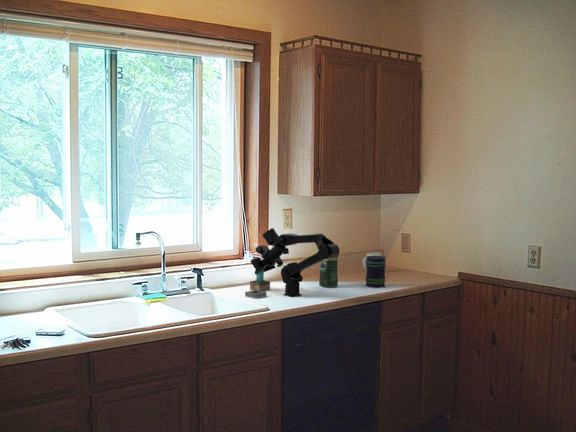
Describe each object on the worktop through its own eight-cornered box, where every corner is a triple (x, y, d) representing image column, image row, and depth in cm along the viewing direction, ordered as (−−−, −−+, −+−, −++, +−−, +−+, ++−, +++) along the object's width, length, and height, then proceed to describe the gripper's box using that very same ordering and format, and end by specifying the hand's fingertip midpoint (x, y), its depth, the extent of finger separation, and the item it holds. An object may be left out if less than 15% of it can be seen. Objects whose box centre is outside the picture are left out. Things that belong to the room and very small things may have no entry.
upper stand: (269, 290, 318) (270, 281, 317) (259, 291, 313) (259, 283, 313) (260, 288, 323) (260, 279, 322) (249, 289, 318) (249, 281, 318)
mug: (374, 270, 381) (374, 252, 380) (384, 272, 374) (384, 253, 373) (358, 272, 375) (358, 253, 374) (367, 274, 368) (368, 255, 367)
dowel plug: (265, 283, 317) (265, 263, 317) (259, 284, 315) (259, 264, 314) (260, 282, 320) (260, 262, 319) (254, 283, 318) (254, 263, 317)
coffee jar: (340, 287, 327) (341, 250, 326) (327, 288, 323) (328, 251, 322) (329, 284, 336) (329, 248, 334) (316, 285, 331) (317, 249, 330)
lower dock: (266, 296, 301) (266, 292, 301) (254, 298, 297) (254, 294, 296) (256, 294, 307) (256, 290, 306) (245, 296, 302) (245, 291, 302)
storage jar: (388, 285, 333) (388, 256, 332) (380, 288, 325) (380, 259, 324) (370, 283, 338) (371, 255, 337) (362, 286, 330) (362, 257, 329)
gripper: (278, 238, 321) (261, 258, 328) (253, 241, 306) (236, 262, 314) (291, 255, 316) (273, 275, 324) (266, 260, 302) (248, 280, 310)
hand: (257, 273), depth 318 cm, fingers closed on dowel plug, 4 cm apart
